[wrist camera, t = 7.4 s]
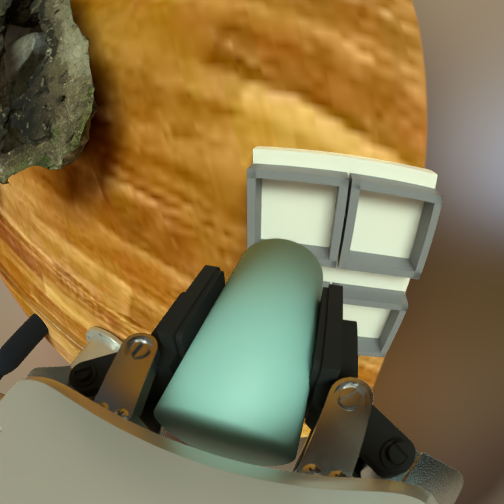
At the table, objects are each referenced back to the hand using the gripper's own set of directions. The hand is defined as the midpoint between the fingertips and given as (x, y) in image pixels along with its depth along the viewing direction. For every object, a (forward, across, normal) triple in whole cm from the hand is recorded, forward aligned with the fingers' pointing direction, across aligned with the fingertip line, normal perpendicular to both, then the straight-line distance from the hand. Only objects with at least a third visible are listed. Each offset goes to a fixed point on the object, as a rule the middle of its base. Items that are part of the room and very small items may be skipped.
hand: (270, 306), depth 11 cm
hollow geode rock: (+13, +25, -17) cm, 33 cm away
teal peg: (+2, 0, 0) cm, 2 cm away
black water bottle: (+12, +62, +36) cm, 72 cm away
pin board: (+13, -3, +5) cm, 14 cm away
